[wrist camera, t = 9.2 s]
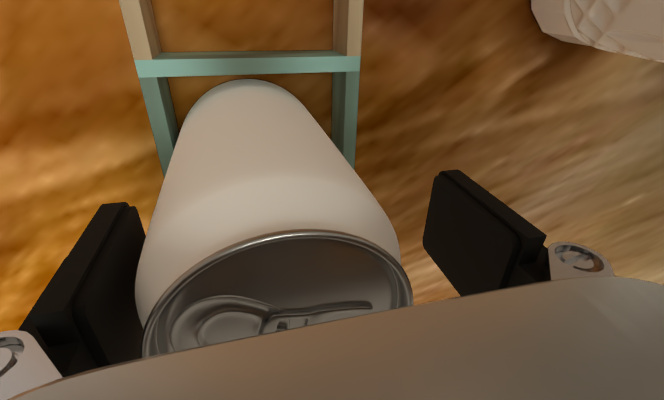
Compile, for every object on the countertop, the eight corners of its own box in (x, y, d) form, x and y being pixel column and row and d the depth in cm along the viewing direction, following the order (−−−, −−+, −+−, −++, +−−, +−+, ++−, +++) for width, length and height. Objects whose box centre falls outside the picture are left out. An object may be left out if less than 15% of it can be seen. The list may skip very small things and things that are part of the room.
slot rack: (353, -195, 12) (376, -231, 10) (336, 301, 24) (345, 325, 22) (75, -243, 10) (43, -297, 8) (210, 326, 22) (209, 355, 20)
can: (187, 60, 15) (106, 190, 5) (327, 92, 17) (479, 225, 7) (177, 193, 17) (114, 454, 7) (300, 205, 20) (379, 416, 10)
